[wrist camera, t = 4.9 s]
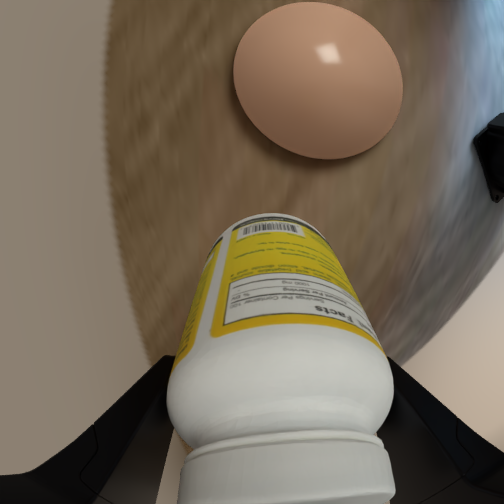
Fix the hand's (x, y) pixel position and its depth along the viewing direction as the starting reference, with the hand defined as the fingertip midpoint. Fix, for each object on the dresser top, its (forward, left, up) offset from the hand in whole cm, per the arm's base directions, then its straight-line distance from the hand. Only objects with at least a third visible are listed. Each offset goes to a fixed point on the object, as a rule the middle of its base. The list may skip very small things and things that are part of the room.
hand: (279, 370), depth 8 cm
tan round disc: (+6, -9, -12) cm, 17 cm away
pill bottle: (0, 0, -6) cm, 6 cm away
